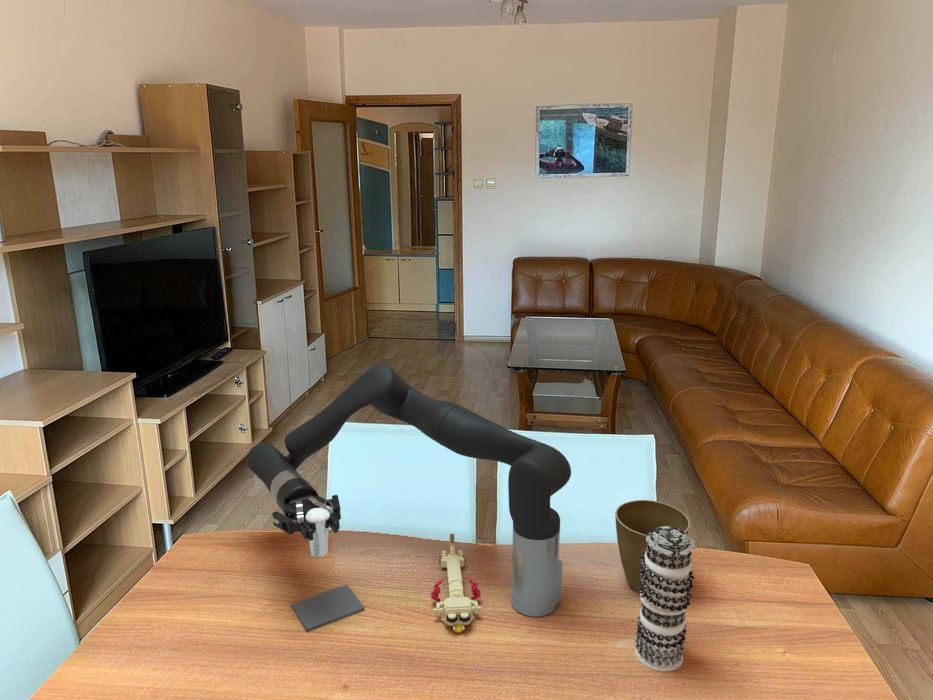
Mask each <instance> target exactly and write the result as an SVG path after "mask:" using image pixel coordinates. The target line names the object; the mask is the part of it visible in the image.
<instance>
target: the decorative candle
mask: <svg viewBox="0 0 933 700" xmlns="http://www.w3.org/2000/svg"><path fill="white" fill-rule="evenodd" d="M646 542H647V549H646V551H645V552H644V553H643V556H641V558H640V559H641V561H642V562H641V564H640V567H641V569H640V572H641V574H640V577H641V580H640V585H641V586H640V590H641V591H640V592H639V599H640V601H641V607H640V608H639V609H640V610H639V615H638V616H637V624H636V626H637V628H636V633H635V656H636V658H637V659H638V661H639V662H641V663H642V664H643V665H644V666H645V667H647V668H649V669H652V670H654V671H657V672H664V673H665V672H671V671H675V670H677V669H679V668H680V667H681V665H682V664H683V662H684V657H683V656H685V653H684V652H683V651H684V650H685V649H686V646H685V645H684V644H685V643H686V642H685V640H686V638H687V637H686V633H687V624H686V611H687V610H688V609H689V607H690V605H691V602H690V601H691V600H690V598H692V594H691V589H693V587H694V584H693V580H695V577H694V572H693V571H692V563H693V562H692V560H693V559H692V553H693V550H695V548H696V546H695V542H694V540H693V539H692V538H691V537H690V536H689V535H688V534H686V533H685V532H684V531H682V530H680V529H678V528H675V527H669V526H664V527H659V528H657V529H655V530H654V531H652V532H649V534H648V535H647V536H646Z"/></svg>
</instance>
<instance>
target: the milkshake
mask: <svg viewBox="0 0 933 700" xmlns="http://www.w3.org/2000/svg"><path fill="white" fill-rule="evenodd" d="M333 508H334V507H333ZM332 511H333V509H332ZM332 511H331V512H332ZM330 514H331V513H329V512H328V511H327V510H326V509H323V508H313V509H311V510H309V511H308V512H307V514H306V517H305V518H306V523H307V524H308V525H309V526H310V527H311V529H312V531H313V540H311V541H309V540H308V543H309V549H310V550H309V551H310V556H311V557H314V558H322V557H324V556H326V555H327V554H328V552H329V551H328V550H329V548H328V547H329V531H330V527H329V520H330Z"/></svg>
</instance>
